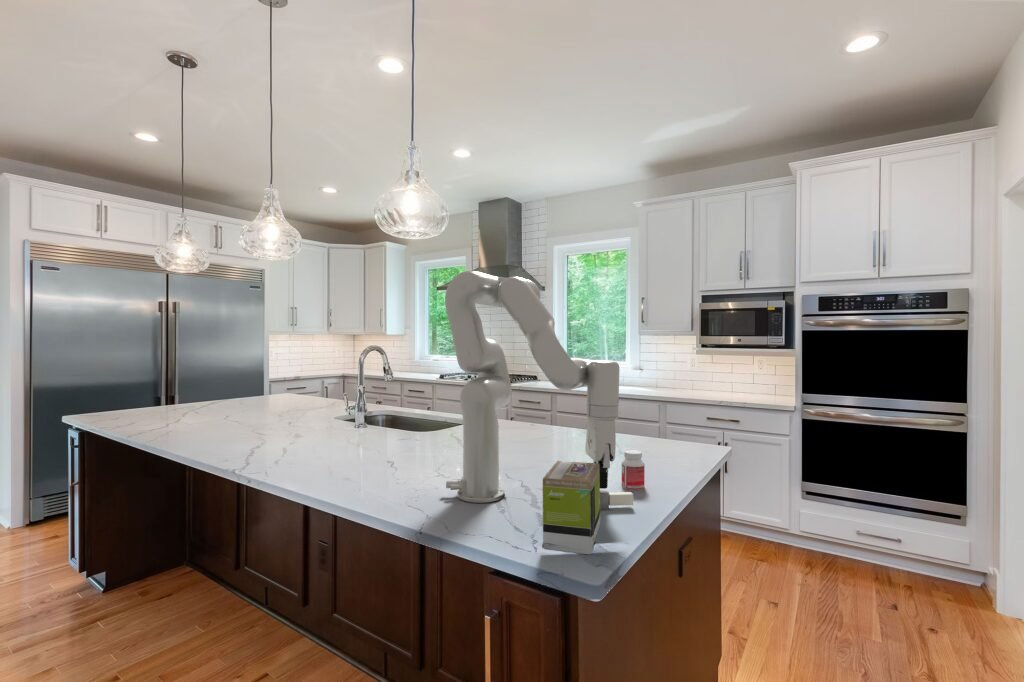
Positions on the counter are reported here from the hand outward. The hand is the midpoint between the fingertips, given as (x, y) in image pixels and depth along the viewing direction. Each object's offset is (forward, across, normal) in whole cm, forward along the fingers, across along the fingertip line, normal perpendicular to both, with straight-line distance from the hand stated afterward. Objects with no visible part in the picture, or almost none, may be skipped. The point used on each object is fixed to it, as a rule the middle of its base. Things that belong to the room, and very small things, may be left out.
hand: (600, 487), depth 121 cm
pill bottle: (+6, -16, +14) cm, 22 cm away
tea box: (+7, +14, -10) cm, 19 cm away
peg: (+5, 0, +4) cm, 6 cm away
